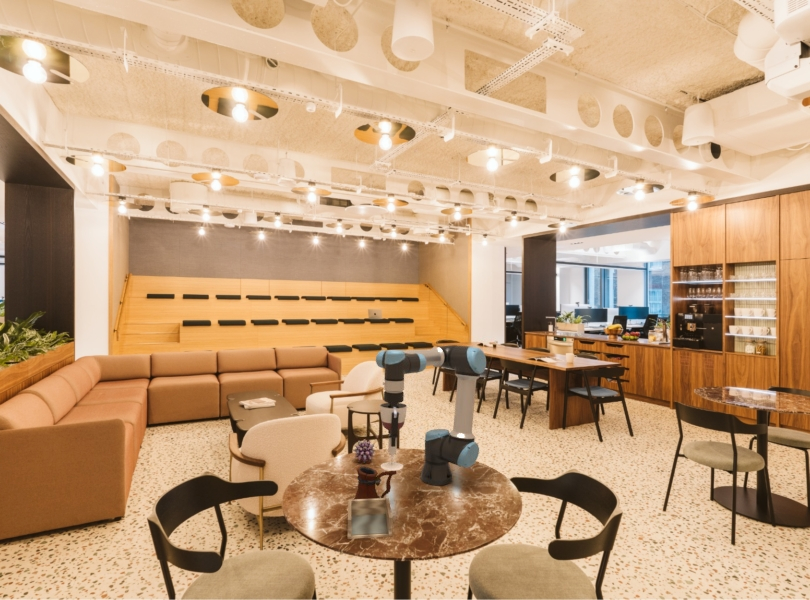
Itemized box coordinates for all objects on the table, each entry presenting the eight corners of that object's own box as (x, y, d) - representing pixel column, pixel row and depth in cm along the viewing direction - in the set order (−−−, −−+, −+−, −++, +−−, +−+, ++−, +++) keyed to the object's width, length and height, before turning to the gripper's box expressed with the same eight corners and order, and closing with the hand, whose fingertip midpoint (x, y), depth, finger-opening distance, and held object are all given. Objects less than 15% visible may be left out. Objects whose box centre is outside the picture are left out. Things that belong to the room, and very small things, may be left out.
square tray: (388, 515, 163) (388, 497, 163) (392, 536, 148) (392, 517, 148) (347, 517, 161) (348, 499, 161) (347, 539, 146) (347, 519, 146)
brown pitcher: (395, 497, 178) (396, 462, 178) (396, 510, 166) (397, 473, 167) (353, 498, 177) (354, 463, 177) (352, 511, 165) (352, 474, 165)
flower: (350, 465, 212) (350, 442, 212) (356, 457, 224) (357, 435, 224) (372, 467, 210) (372, 444, 210) (377, 458, 222) (377, 436, 222)
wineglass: (378, 461, 160) (379, 402, 161) (403, 461, 161) (405, 402, 162) (379, 471, 151) (380, 408, 152) (406, 470, 152) (407, 408, 152)
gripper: (382, 387, 164) (380, 446, 163) (386, 395, 148) (384, 460, 148) (400, 387, 165) (399, 446, 164) (406, 395, 150) (404, 460, 149)
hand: (392, 452), depth 156 cm, fingers open, 2 cm apart
